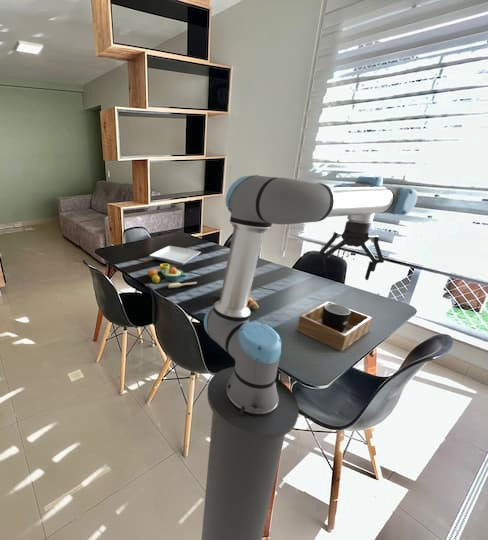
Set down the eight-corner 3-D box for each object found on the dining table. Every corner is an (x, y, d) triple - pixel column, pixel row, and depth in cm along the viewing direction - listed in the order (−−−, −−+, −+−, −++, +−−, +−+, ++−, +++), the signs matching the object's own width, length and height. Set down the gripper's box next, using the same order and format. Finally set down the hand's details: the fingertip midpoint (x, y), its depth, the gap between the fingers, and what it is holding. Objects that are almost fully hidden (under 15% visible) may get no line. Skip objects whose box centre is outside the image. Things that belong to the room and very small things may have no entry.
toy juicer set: (141, 277, 172) (141, 265, 169) (165, 270, 182) (165, 258, 179) (172, 294, 150) (172, 280, 147) (197, 285, 160) (198, 272, 157)
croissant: (259, 314, 136) (265, 299, 136) (252, 313, 129) (258, 296, 128) (221, 299, 150) (226, 285, 150) (212, 297, 142) (217, 282, 142)
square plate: (148, 260, 200) (148, 254, 198) (169, 249, 221) (169, 245, 219) (182, 267, 185) (183, 262, 184) (201, 256, 206) (201, 250, 205)
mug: (341, 340, 110) (347, 317, 106) (316, 331, 116) (321, 309, 112) (348, 327, 118) (355, 305, 114) (324, 319, 124) (329, 298, 120)
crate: (341, 351, 105) (345, 336, 102) (297, 330, 118) (300, 315, 116) (367, 332, 116) (372, 317, 114) (324, 314, 129) (328, 301, 127)
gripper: (401, 222, 100) (384, 278, 108) (320, 216, 112) (309, 266, 120) (405, 226, 94) (386, 285, 102) (319, 219, 106) (308, 272, 114)
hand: (345, 275), depth 111 cm, fingers open, 13 cm apart
